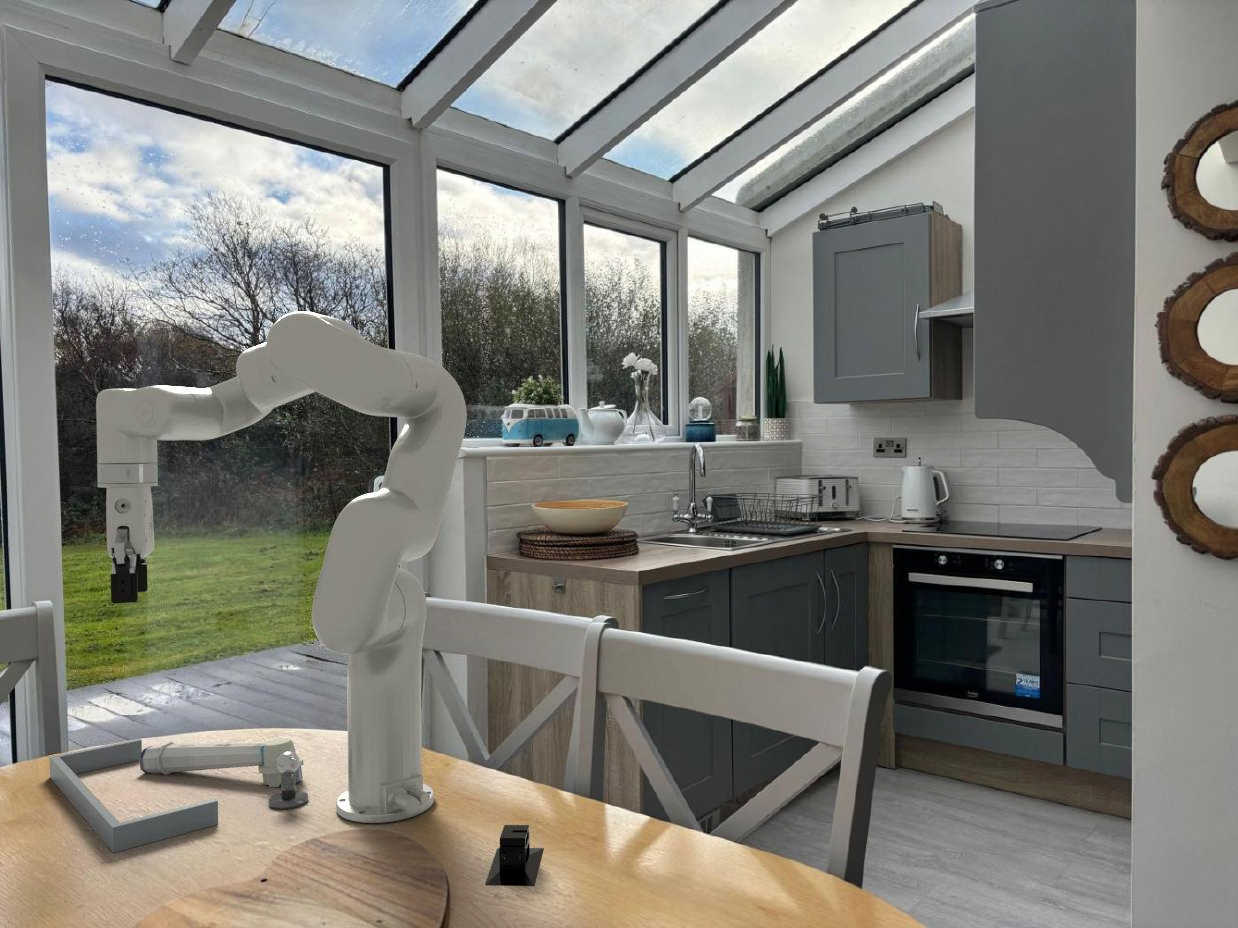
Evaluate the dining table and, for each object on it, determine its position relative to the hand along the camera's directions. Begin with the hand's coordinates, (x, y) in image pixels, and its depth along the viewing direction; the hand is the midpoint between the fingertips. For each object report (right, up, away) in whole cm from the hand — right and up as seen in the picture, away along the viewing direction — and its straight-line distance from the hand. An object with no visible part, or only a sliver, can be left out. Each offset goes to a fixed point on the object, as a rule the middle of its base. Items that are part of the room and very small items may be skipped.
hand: (130, 597), depth 131 cm
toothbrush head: (+12, -27, +3) cm, 30 cm away
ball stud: (+25, -27, -7) cm, 37 cm away
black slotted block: (+57, -28, -26) cm, 69 cm away
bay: (+3, -27, -6) cm, 27 cm away
